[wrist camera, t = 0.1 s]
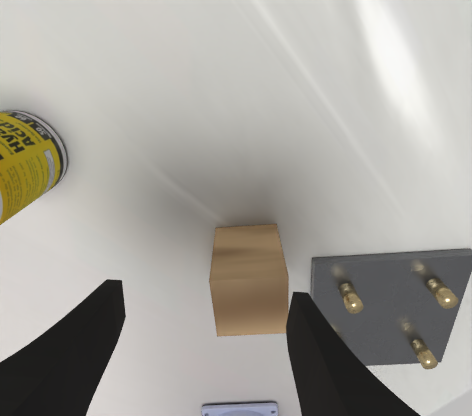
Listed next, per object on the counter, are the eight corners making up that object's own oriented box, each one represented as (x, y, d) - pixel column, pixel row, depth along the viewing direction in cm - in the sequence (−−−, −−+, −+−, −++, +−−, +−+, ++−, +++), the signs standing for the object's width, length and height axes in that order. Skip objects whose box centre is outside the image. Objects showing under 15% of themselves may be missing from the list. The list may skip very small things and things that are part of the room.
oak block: (277, 272, 25) (288, 332, 19) (221, 275, 25) (217, 336, 20) (276, 223, 23) (288, 276, 17) (215, 227, 23) (209, 280, 18)
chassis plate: (435, 354, 29) (454, 383, 27) (307, 360, 29) (314, 389, 27) (469, 248, 24) (497, 271, 21) (312, 258, 24) (321, 281, 22)
